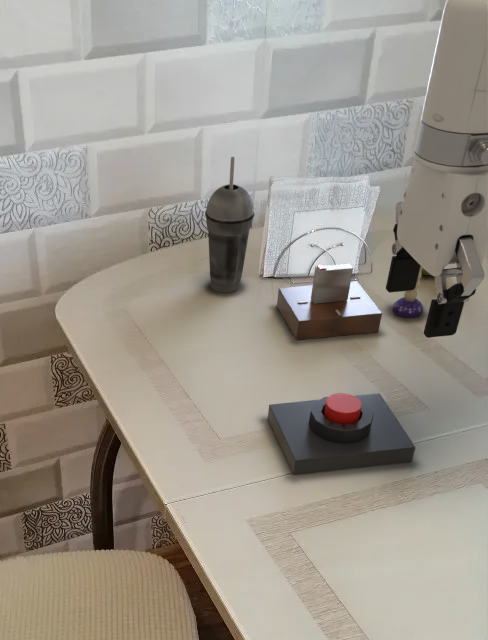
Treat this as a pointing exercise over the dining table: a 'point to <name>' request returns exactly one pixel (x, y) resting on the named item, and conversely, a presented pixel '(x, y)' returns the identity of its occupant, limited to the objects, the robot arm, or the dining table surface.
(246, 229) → the beverage cup
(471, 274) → the robot arm
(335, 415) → the power button
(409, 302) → the toy lamp
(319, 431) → the device
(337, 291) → the grey upright block
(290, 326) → the brown wooden base
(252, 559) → the dining table surface
